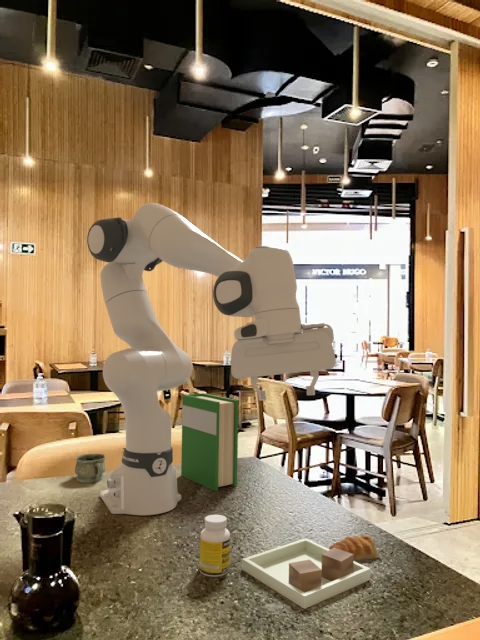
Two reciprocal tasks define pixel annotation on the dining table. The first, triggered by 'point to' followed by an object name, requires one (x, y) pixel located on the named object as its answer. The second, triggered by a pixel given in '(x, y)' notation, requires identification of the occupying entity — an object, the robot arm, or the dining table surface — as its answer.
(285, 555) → the tray
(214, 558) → the supplement bottle
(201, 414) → the hardback book
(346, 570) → the walnut block
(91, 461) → the vessel
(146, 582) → the dining table surface
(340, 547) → the pastry
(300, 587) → the walnut block
